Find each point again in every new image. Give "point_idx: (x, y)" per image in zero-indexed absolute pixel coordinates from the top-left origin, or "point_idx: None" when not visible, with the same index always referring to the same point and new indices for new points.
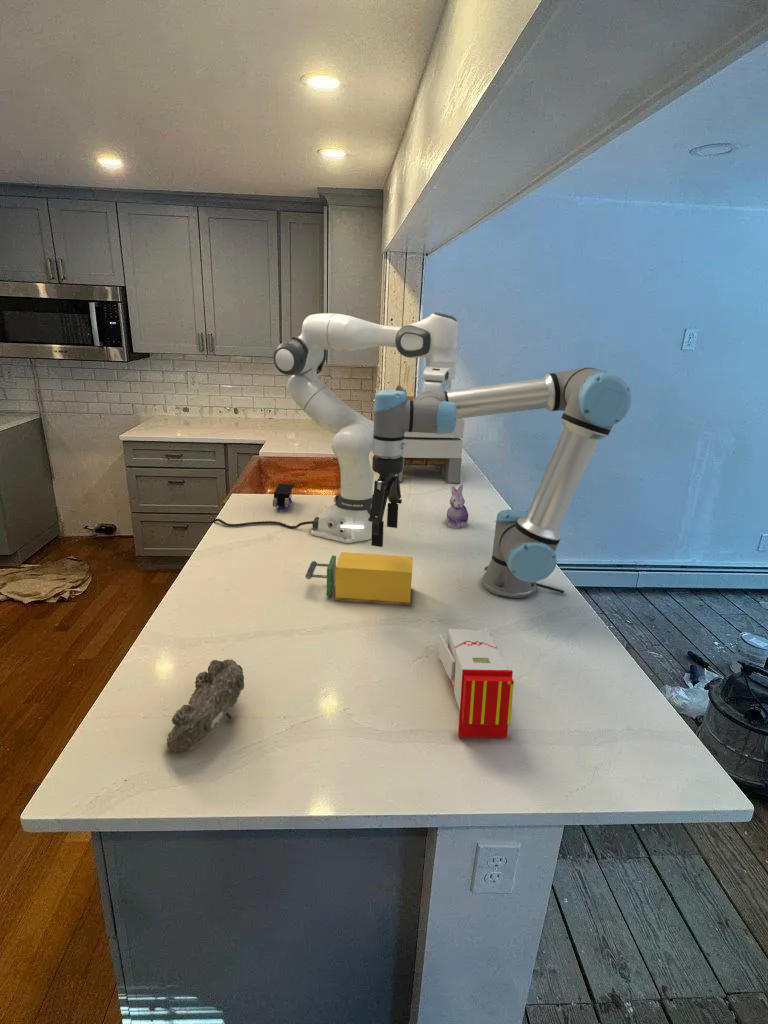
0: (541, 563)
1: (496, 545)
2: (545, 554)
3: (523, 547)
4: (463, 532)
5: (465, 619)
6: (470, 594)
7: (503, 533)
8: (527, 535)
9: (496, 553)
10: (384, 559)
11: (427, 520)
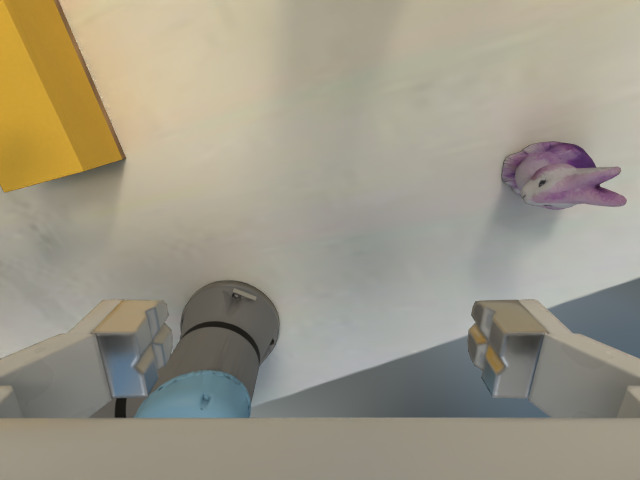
0: None
1: (176, 351)
2: None
3: None
4: (479, 199)
5: (76, 275)
6: (166, 267)
7: None
8: None
9: (180, 342)
10: (23, 108)
11: (546, 86)
